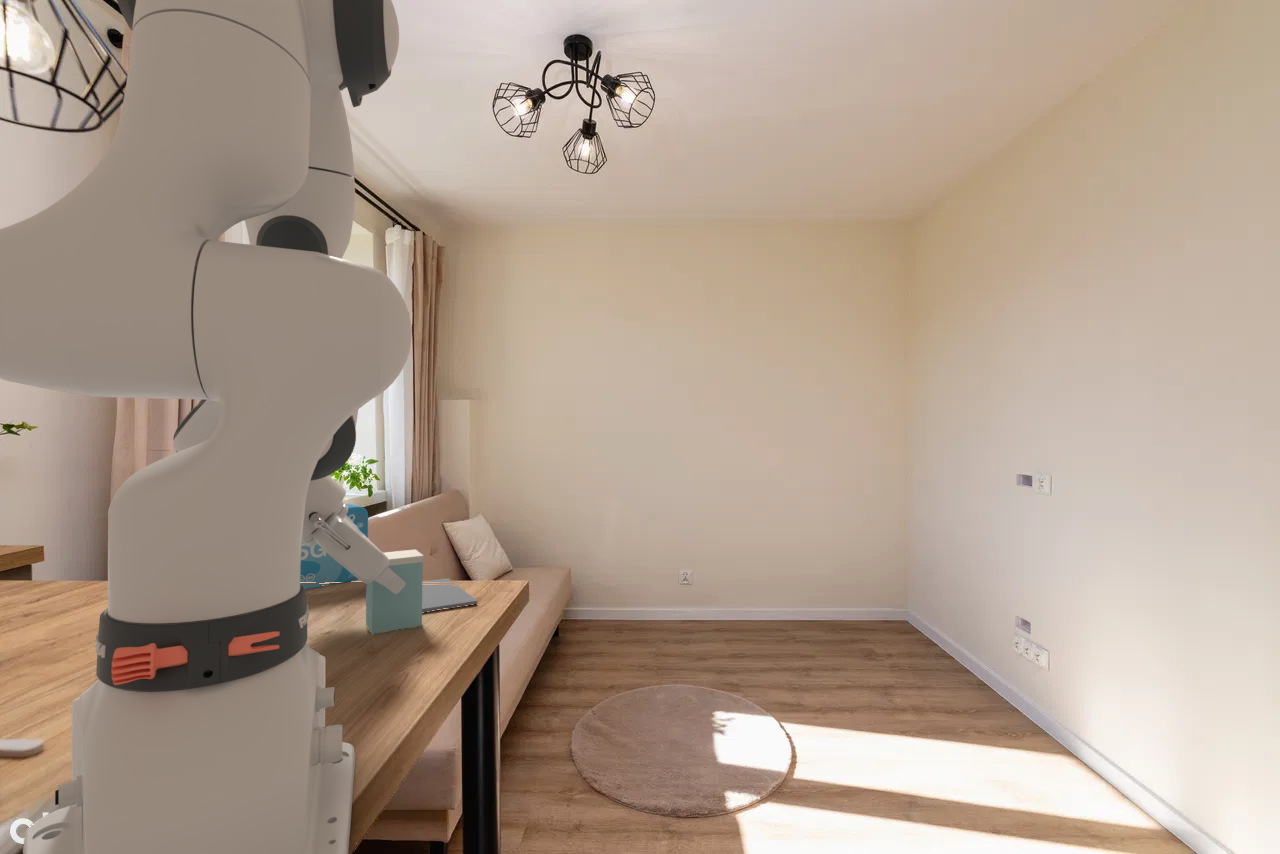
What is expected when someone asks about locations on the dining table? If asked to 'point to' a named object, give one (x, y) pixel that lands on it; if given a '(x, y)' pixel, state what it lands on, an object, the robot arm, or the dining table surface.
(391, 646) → the dining table surface
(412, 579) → the tea tin
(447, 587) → the felt mat
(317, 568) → the data package
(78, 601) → the dining table surface
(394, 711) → the dining table surface
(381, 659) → the dining table surface
